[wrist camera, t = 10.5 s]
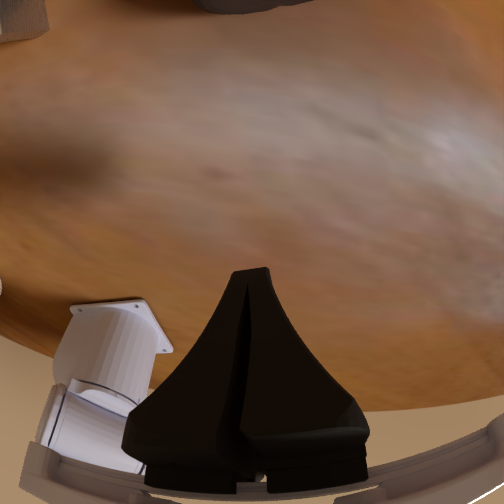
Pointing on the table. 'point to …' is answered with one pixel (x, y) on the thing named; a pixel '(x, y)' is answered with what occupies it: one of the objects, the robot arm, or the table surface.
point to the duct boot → (22, 19)
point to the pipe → (243, 5)
